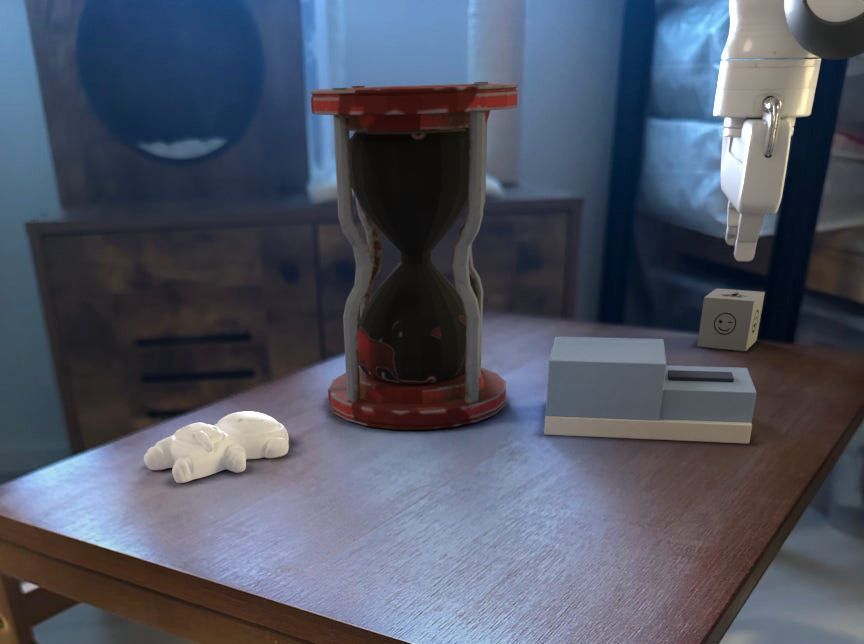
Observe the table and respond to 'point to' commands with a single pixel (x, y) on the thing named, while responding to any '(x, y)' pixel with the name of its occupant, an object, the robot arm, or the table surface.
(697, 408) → the stepped block with slot
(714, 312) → the beige smiley face cube
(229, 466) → the astronaut figurine
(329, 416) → the table surface
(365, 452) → the table surface
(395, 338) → the hourglass
